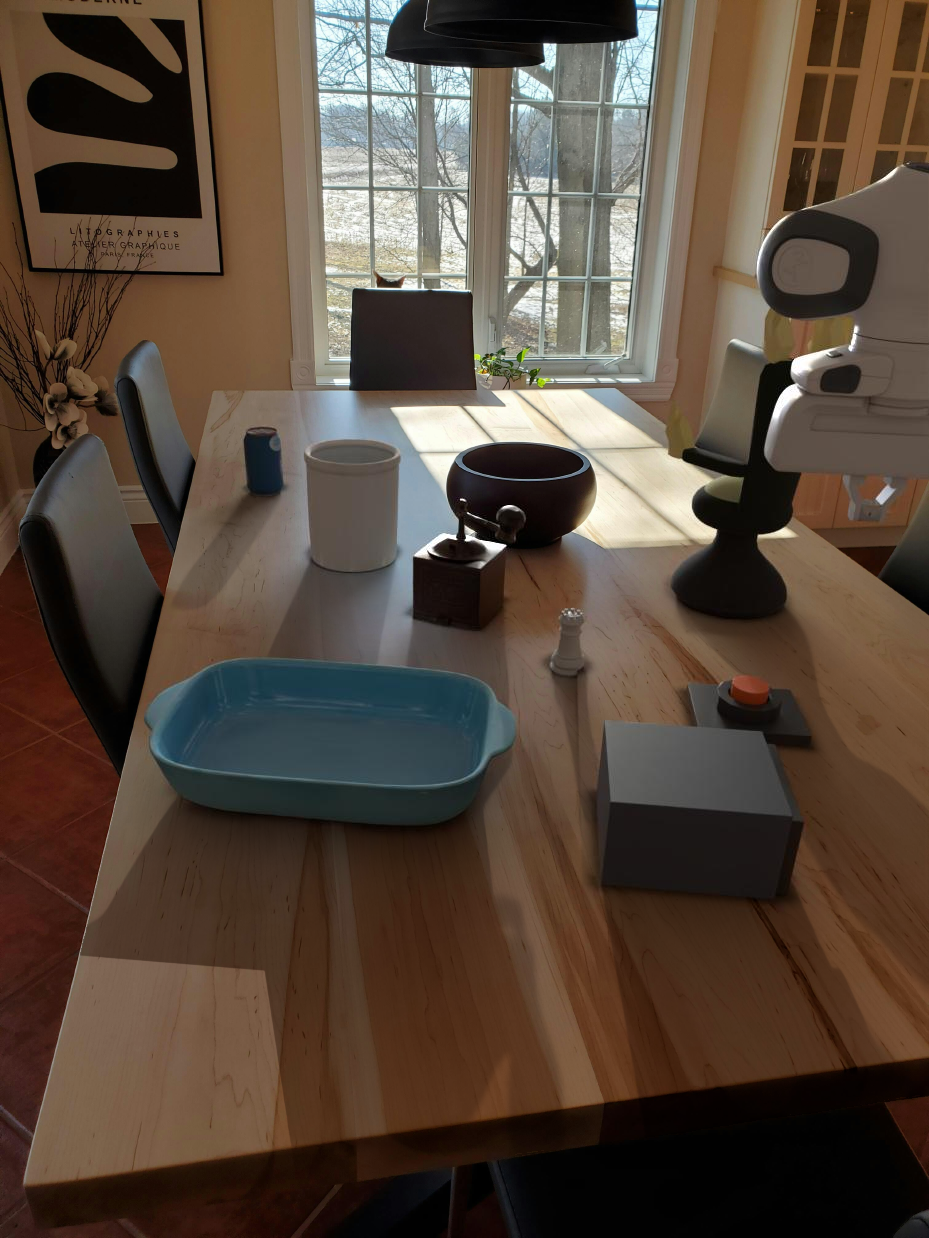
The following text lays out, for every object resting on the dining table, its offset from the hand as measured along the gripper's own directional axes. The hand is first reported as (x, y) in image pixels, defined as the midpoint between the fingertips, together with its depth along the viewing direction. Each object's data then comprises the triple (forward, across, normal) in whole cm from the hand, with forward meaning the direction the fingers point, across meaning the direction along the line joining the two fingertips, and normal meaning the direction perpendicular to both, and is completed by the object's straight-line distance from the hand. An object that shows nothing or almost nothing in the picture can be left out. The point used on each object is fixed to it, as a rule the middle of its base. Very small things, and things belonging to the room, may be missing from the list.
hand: (865, 520), depth 85 cm
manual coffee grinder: (+27, +39, -30) cm, 56 cm away
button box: (+27, +6, -6) cm, 28 cm away
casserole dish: (+27, +50, +9) cm, 58 cm away
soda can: (+27, +84, -79) cm, 119 cm away
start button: (+24, +6, -6) cm, 25 cm away
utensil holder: (+27, +60, -49) cm, 82 cm away
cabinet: (+27, +16, +17) cm, 36 cm away
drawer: (+26, +14, +17) cm, 34 cm away
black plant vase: (+27, +1, -40) cm, 48 cm away
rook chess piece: (+27, +26, -16) cm, 41 cm away
